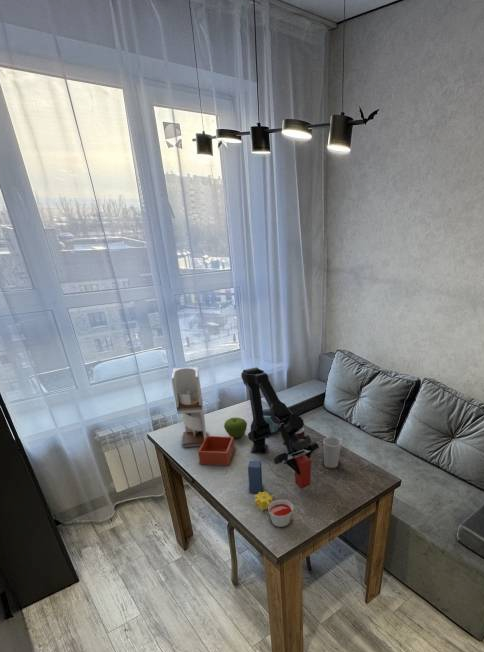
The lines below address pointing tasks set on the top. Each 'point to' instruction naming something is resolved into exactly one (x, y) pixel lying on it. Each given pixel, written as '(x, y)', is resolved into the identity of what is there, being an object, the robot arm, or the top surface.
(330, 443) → the cup
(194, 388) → the arched white lantern
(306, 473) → the red block
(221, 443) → the red bin
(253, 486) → the blue block
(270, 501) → the toy block
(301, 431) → the mug
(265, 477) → the top surface
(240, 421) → the apple
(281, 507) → the candle
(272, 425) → the mug
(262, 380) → the robot arm
